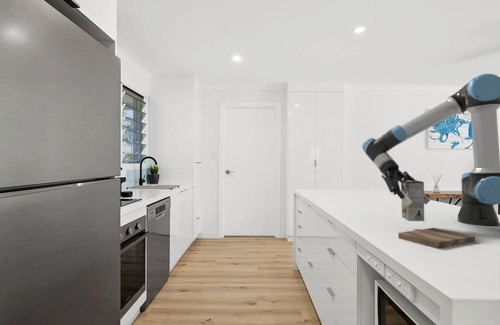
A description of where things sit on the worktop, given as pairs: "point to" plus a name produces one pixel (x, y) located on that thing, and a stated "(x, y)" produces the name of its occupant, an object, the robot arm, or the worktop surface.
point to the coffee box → (413, 200)
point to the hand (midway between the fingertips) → (419, 203)
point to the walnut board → (436, 237)
